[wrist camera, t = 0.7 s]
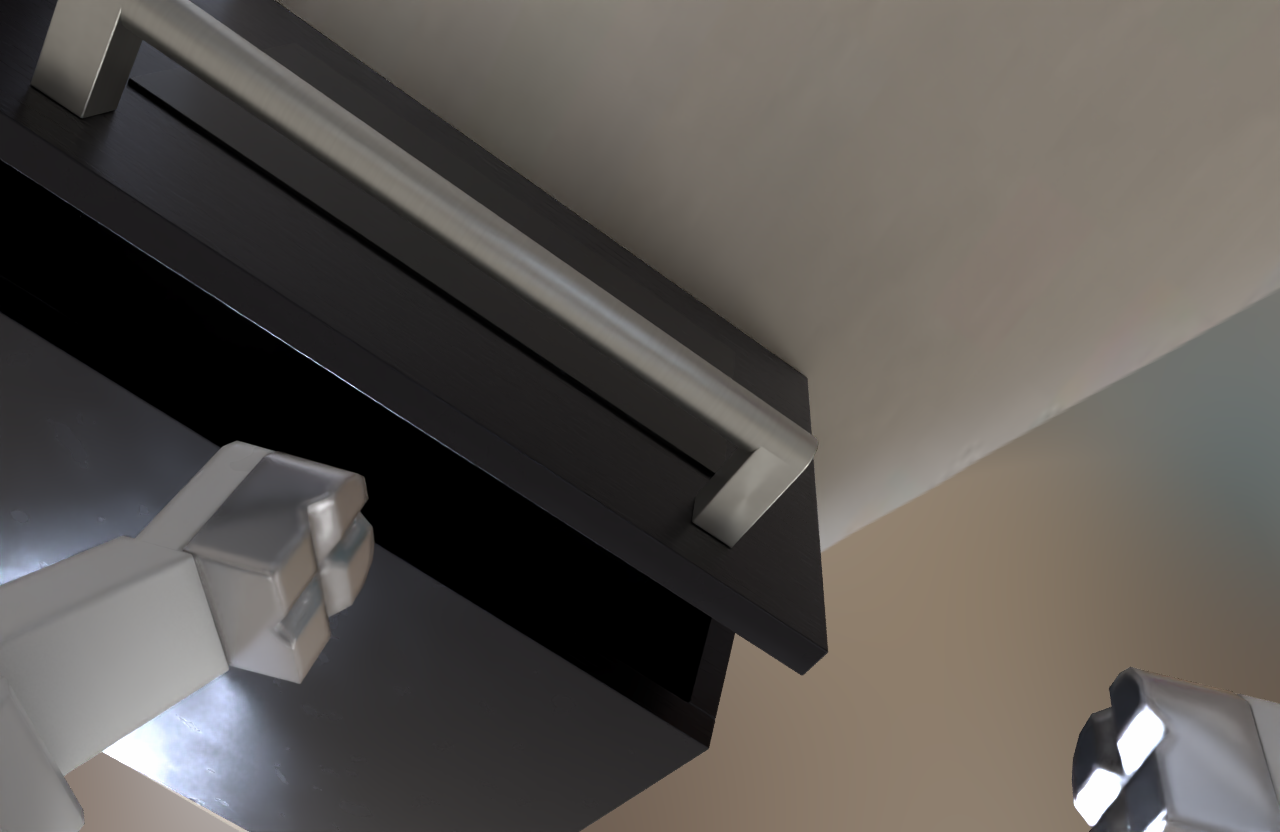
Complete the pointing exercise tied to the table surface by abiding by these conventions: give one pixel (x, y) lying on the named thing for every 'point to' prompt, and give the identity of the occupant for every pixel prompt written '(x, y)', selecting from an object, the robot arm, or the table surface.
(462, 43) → the table surface
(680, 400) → the oven door
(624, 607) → the oven
